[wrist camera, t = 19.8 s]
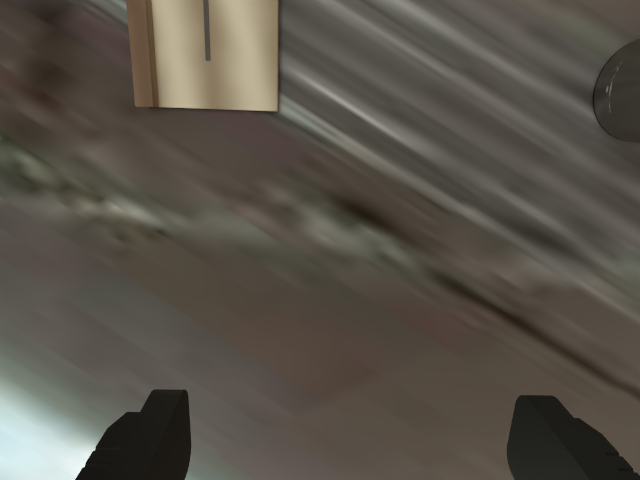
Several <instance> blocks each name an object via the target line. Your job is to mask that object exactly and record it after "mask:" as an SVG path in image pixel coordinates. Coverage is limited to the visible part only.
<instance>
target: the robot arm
mask: <svg viewBox="0 0 640 480" xmlns="http://www.w3.org/2000/svg"><path fill="white" fill-rule="evenodd" d="M594 108H595V113H596V116H597V119H598V121H599V122H600V124H601V126H602V127H603V128H604V129H605V130H606V131H607V132H608V133H609V134H610V135H612V136H614V137H616V138H617V139H621V140H625V141H632V142H640V39H639V40H637V41H634V42H632V43H630V44H628V45H626V46H625V47H623V48H622V49H620V50H619V51H618V52H617V53H616V54H615V55H614V56H613V57H612V58H611V59H610V60H609V61H608V63H607V64H606V65H605V67H604V68H603V70H602V72H601V74H600V76H599V78H598V81H597V84H596V87H595V94H594ZM190 455H191V432H190V416H189V401H188V393H187V391H186V390H153V391H152V392H151V393H150V395H149V397H148V399H147V401H146V402H145V404H144V406H143V408H142V410H141V411H140V412H127V413H125V414H124V415H123V416H122V417H120V418H119V419H118V420H117V421H116V422H114V423H113V424H112V425H111V426H110V427H108V428H107V430H106V432H105V433H104V435H103V436H102V438H101V440H100V441H99V443H98V444H97V446H96V449H95V451H93V452H92V454H91V455H90V457H89V459H88V460H87V462H86V465H85V468H82V470H81V471H80V473H79V475H78V476H77V478H76V479H75V480H185V477H186V474H187V471H188V467H189V462H190ZM507 459H508V464H509V468H510V471H511V473H512V475H513V477H514V479H515V480H640V476H639V475H638V474H637V473H634V472H633V468H632V467H631V466H630V465H629V464H628V462H627V461H626V460H625V459H624V458H623V457H620V456H619V453H618V451H617V450H616V449H615V448H614V447H613V446H612V445H611V444H610V443H609V441H608V440H607V439H606V438H605V437H604V436H603V435H602V434H601V433H600V432H598V431H597V430H595V429H594V428H592V427H591V426H589V425H588V424H587V423H585V422H584V421H582V420H581V419H579V418H573V416H572V415H571V414H570V413H569V412H568V411H567V409H566V408H565V407H564V406H563V405H562V404H561V403H560V401H559V400H558V399H557V398H556V397H554V396H541V395H521V396H519V397H518V398H517V400H516V404H515V409H514V414H513V419H512V424H511V429H510V434H509V439H508V444H507Z"/></svg>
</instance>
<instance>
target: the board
mask: <svg viewBox="0 0 640 480" xmlns="http://www.w3.org/2000/svg"><path fill="white" fill-rule="evenodd" d="M126 3H127V15H128V26H129V38H130V50H131V61H132V73H133V84H134V96H135V106H142V107H172V108H200V109H228V110H255V111H278V104H279V0H126Z"/></svg>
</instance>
